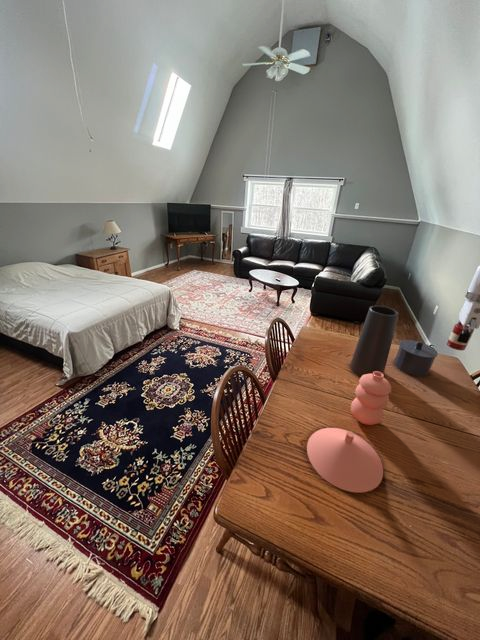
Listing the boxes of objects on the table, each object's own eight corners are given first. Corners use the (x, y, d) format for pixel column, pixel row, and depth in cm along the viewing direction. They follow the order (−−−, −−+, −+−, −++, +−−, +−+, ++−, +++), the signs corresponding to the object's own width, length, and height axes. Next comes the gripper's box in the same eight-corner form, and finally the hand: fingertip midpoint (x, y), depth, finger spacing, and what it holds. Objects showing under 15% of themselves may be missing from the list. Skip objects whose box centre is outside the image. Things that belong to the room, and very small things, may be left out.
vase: (344, 369, 119) (359, 308, 106) (358, 358, 127) (374, 301, 115) (375, 384, 110) (395, 320, 97) (388, 371, 118) (408, 311, 106)
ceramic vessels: (370, 510, 65) (393, 457, 57) (294, 459, 77) (303, 409, 69) (400, 426, 90) (419, 381, 82) (339, 397, 102) (350, 355, 94)
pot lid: (428, 344, 124) (431, 336, 122) (442, 361, 111) (446, 353, 109) (394, 340, 126) (397, 332, 125) (404, 356, 114) (407, 347, 112)
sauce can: (460, 343, 113) (469, 324, 109) (468, 351, 108) (477, 331, 104) (443, 341, 114) (451, 322, 111) (450, 349, 109) (459, 329, 105)
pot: (421, 361, 127) (428, 343, 123) (433, 378, 115) (441, 359, 111) (390, 356, 130) (396, 339, 126) (399, 373, 118) (406, 354, 114)
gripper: (498, 306, 93) (476, 350, 101) (483, 292, 107) (465, 332, 115) (471, 302, 96) (452, 345, 104) (461, 289, 110) (444, 328, 118)
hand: (459, 338), depth 109 cm, fingers closed on sauce can, 6 cm apart
